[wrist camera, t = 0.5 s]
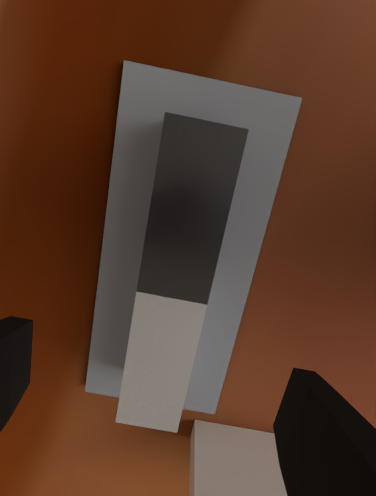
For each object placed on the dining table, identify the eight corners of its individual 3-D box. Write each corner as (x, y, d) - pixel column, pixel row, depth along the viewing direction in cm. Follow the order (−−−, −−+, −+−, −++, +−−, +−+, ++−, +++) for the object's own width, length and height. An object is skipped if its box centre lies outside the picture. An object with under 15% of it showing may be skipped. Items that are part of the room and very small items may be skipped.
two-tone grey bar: (236, 133, 15) (249, 129, 11) (180, 380, 19) (177, 432, 15) (172, 120, 15) (165, 111, 11) (130, 371, 19) (115, 422, 15)
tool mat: (298, 99, 15) (302, 97, 14) (214, 408, 20) (214, 414, 19) (126, 63, 14) (124, 59, 14) (87, 385, 20) (84, 391, 19)
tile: (315, 440, 21) (373, 580, 14) (308, 458, 21) (359, 602, 14) (194, 419, 20) (193, 551, 14) (189, 438, 21) (186, 574, 14)
